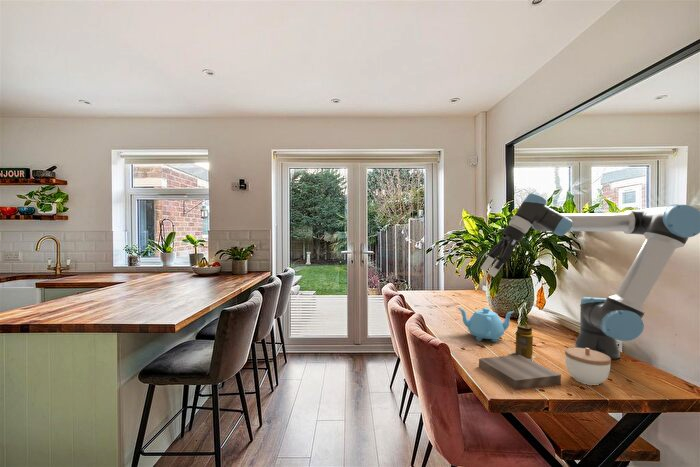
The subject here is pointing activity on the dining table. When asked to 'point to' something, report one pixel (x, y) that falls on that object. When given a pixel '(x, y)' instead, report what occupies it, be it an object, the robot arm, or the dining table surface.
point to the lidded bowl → (587, 365)
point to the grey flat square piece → (519, 372)
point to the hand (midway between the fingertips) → (486, 272)
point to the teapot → (486, 324)
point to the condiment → (524, 342)
